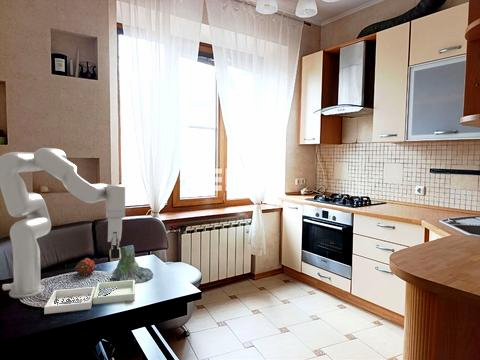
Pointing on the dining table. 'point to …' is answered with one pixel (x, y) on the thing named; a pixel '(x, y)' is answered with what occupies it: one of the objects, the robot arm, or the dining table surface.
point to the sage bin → (116, 292)
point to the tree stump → (130, 267)
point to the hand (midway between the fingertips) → (115, 256)
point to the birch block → (115, 258)
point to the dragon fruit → (85, 266)
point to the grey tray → (55, 308)
